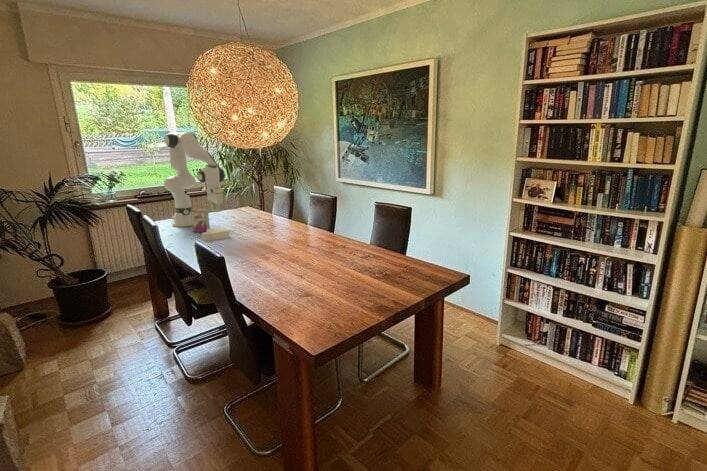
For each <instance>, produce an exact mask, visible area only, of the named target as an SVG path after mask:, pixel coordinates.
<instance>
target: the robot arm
mask: <svg viewBox="0 0 707 471" xmlns="http://www.w3.org/2000/svg"><path fill="white" fill-rule="evenodd" d="M164 143H165V145H166V146H167V147H168V148H169V150H168V151H169V162H170V168H171V169H173V170H174V171H175V172H176V175H171V176H168V177H166V178H164V181H163V185H164V188H165V189H166V190H167V191H169V192H170V193H171V195H172V197H173V199H174V205H175V208H174V212H175V213H174V215H173V216H171V219H172V221H171V224H172V225H171V226H172V227H179V228H180V227H182V228H183V227H184V228H185V227H192V218H191V210H193V207H192V202H191V197H190V195H188V194H186V192H185V191H184V190H187V189H191V188H193V187H195V186H196V184H197V180H198V181H199V182H200V183H201V184H206V192H207V193H206V197H207V198H206V199H207V201H208V202H210V204H216V210H219V204H220V205H222V204H224V196H223V193H224V190H223V188H222V186H221V183H222V182H223V181H224V180H225V178H226V172H225V171H224V169H223V168H221V167H220V166H219V164H218V162H217V161H216V160H215V159H214V158H213V156H212V154H210V152H209V151H207V150H206V149H204V148H203V147H202V146H201V145H200V143H199V141H198V138H197V136H196V135H195V134H194V133H192V132H189V131H186V132H168V133H166V134H165V136H164ZM187 157H189V158H190V159H194V160H199V161H203V162H204V163H206V165H205V167H203V168H201V169H199V170H198V171H197V173H196V177H197V180H196V178H195V176H194V175H193V174H191V172H190V170H189V167H188V164H187Z"/></svg>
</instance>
